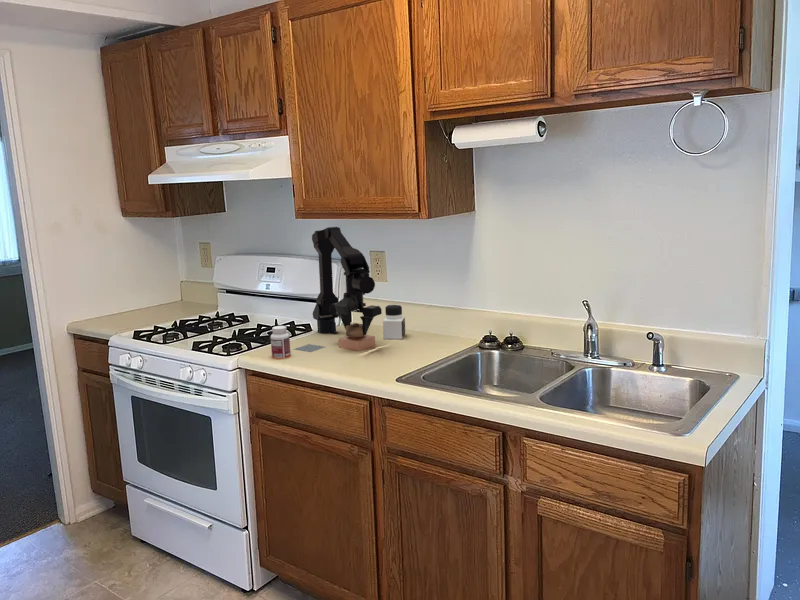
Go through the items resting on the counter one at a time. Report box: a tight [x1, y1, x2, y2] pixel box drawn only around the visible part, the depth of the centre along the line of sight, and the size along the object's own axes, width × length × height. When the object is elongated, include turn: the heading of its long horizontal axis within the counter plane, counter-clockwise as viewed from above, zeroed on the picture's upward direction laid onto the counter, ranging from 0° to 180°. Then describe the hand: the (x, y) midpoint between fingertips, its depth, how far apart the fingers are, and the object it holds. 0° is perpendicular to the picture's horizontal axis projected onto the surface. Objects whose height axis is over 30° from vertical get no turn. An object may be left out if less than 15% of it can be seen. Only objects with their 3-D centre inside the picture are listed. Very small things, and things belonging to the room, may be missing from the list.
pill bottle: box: [270, 325, 292, 360], centre depth 233 cm, size 6×6×11 cm
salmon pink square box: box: [337, 334, 376, 352], centre depth 244 cm, size 9×9×4 cm
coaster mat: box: [293, 343, 325, 353], centre depth 244 cm, size 8×8×1 cm
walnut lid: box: [345, 322, 365, 337], centre depth 243 cm, size 7×7×4 cm
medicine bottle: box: [382, 304, 406, 340], centre depth 259 cm, size 7×7×12 cm
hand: (356, 333), depth 244 cm, fingers closed on walnut lid, 7 cm apart
